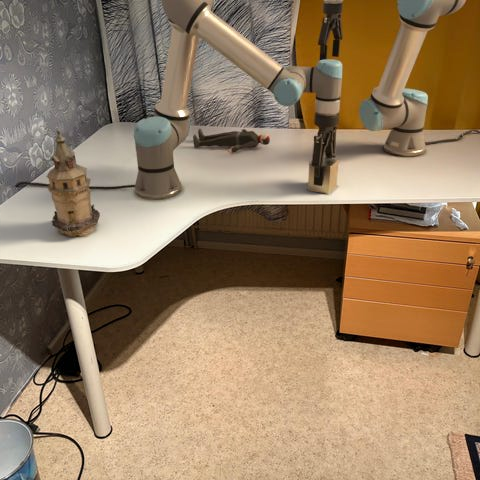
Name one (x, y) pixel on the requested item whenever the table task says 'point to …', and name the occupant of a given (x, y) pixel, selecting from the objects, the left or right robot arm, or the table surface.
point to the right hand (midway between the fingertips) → (329, 59)
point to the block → (324, 176)
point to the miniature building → (70, 193)
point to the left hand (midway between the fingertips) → (322, 180)
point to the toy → (231, 140)
